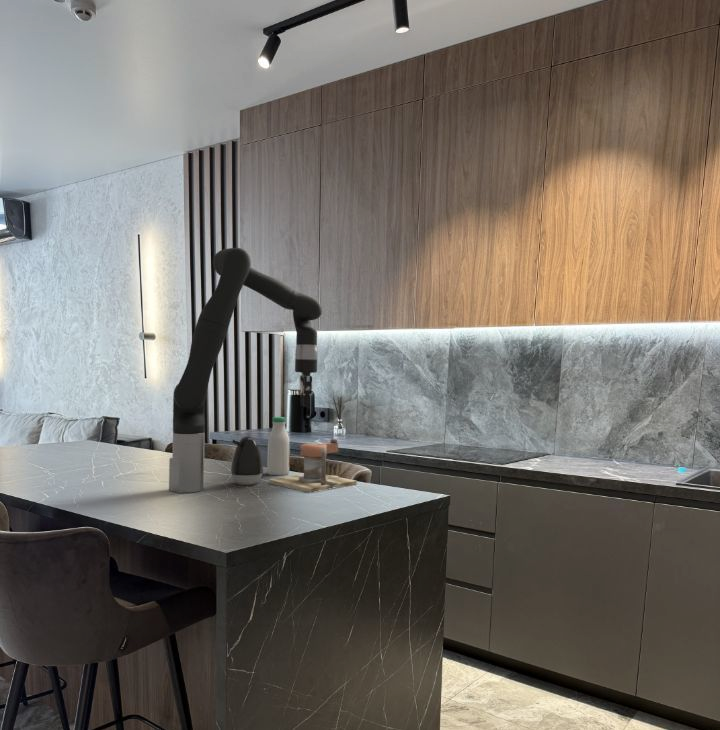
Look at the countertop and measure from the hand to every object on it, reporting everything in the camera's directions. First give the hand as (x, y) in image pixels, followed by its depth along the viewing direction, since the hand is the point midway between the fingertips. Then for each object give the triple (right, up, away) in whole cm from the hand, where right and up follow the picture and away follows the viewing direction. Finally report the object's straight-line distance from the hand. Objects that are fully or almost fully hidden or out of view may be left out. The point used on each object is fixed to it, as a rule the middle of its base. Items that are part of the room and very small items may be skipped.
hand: (305, 406), depth 201 cm
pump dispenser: (-18, -24, -11) cm, 32 cm away
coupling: (+6, -15, -8) cm, 18 cm away
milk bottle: (-10, -25, +8) cm, 28 cm away
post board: (+3, -24, -10) cm, 26 cm away
